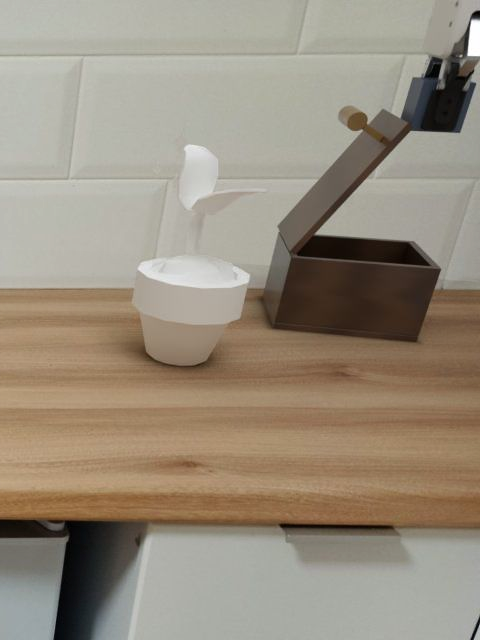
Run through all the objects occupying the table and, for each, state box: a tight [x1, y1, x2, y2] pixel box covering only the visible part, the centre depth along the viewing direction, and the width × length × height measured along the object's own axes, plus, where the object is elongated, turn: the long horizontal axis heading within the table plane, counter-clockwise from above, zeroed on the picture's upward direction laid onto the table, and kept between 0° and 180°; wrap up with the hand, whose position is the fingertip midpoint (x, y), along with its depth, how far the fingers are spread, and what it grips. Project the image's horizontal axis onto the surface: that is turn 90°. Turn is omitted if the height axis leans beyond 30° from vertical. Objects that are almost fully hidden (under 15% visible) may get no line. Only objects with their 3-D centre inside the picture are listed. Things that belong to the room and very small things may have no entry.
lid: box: [276, 104, 414, 255], centre depth 104 cm, size 17×13×5 cm
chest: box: [262, 231, 442, 343], centre depth 109 cm, size 16×13×9 cm
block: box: [400, 76, 477, 134], centre depth 98 cm, size 5×5×5 cm
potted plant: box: [131, 123, 269, 367], centre depth 93 cm, size 13×12×25 cm
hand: (430, 124), depth 99 cm, fingers closed on block, 5 cm apart
